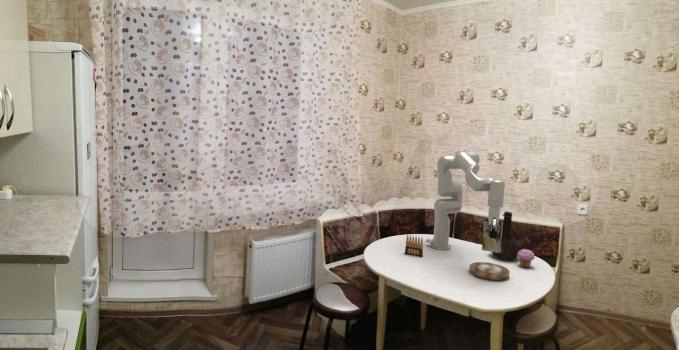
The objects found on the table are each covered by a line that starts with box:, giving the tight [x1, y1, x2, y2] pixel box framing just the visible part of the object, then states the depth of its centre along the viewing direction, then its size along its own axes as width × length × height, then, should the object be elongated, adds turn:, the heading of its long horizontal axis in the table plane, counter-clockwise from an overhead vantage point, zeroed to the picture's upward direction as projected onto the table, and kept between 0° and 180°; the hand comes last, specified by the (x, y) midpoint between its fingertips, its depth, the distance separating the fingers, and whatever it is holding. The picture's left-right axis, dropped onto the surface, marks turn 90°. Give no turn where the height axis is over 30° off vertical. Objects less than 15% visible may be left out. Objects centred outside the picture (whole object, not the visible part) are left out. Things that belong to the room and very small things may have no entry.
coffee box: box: [481, 218, 503, 253], centre depth 211 cm, size 9×6×16 cm
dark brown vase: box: [491, 211, 522, 261], centre depth 240 cm, size 18×18×28 cm
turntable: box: [469, 261, 511, 281], centre depth 214 cm, size 20×20×2 cm
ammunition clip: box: [404, 234, 424, 258], centre depth 239 cm, size 11×2×12 cm, turn 60°
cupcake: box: [517, 248, 535, 269], centre depth 227 cm, size 9×9×10 cm
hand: (492, 236), depth 211 cm, fingers closed on coffee box, 7 cm apart
